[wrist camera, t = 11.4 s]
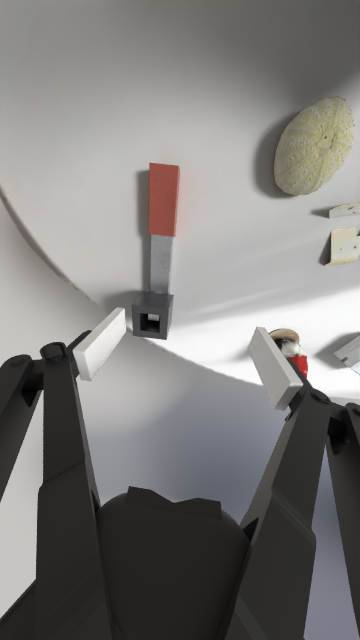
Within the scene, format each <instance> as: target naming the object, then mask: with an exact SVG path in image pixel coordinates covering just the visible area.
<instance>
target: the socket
mask: <svg viewBox="0 0 360 640" xmlns="http://www.w3.org/2000/svg"><path fill="white" fill-rule="evenodd" d="M172 306H173V295H170V294H162V293H154V292H145V291H143V292H142V294H141V295H140V296H139V297H138V298H137V299H136V300H135V302H134V303H133V304H132V321H133V336H140V337H147V338H155V339H163V340H167V336H168V332H169V328H170V324H171V317H172ZM148 314H153V315H160V319H159V321H156V320H148Z"/></svg>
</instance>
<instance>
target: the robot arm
mask: <svg viewBox="0 0 360 640" xmlns="http://www.w3.org/2000/svg"><path fill="white" fill-rule="evenodd" d="M125 332H126V324H125V309H124V308H119V307H117V308H116V309H115V310H114V311H113V312H112V313H110V314H109V315H108V316H107V317H106V318H105V319H104V320H103V321H102V322H101V323H100V324H99V325H98V326H97V327H96V328H95V329H94V330H93V331H91V330H88V331H86V332H84V333H82V334H81V335H80V336H79V337H78V338H76V339H75V341H73V342H72V343H71V344H70V345H69V346H68V347H66V345H65V344H64V343H62V342H53V343H50V344H47V345H45V346H44V347H42V348H41V350H40V354H41V356H42V359H40V360H32V358H31V357H30V356H29V355H18V356H15V357H12V358H10V359H8V360H7V361H5V362H4V363H3V365H2V366H1V368H0V502H1V499H2V496H3V494H4V491H5V488H6V486H7V483H8V480H9V478H10V474H11V472H12V470H13V467H14V464H15V461H16V459H17V456H18V453H19V451H20V448H21V445H22V443H23V440H24V437H25V435H26V432H27V429H28V426H29V424H30V421H31V419H32V416H33V413H34V410H35V408H36V405H37V402H38V400H39V397H40V394H41V392H42V390H44V419H43V428H44V429H43V433H44V434H43V448H44V449H43V484H42V486H41V487H40V488H39V492H38V510H37V554H36V579H35V580H34V582H33V583H32V584H31V585H30V586H29V587H28V588H27V589H26V590H25V592H24V593H23V594H22V595H21V596H20V597H19V598H18V599H17V601H16V602H15V603H14V604H13V605H12V606H11V607H10V608H9V609H8V611H7V612H6V613H5V614H4V615H3V616H2V617H1V619H0V640H305V639H304V638H303V635H304V629H305V622H306V615H307V608H308V601H309V594H310V587H311V580H312V573H313V566H314V559H315V551H316V537H315V534H314V533H313V531H312V528H311V525H312V518H313V512H314V506H315V500H316V495H317V489H318V483H319V477H320V471H321V465H322V459H323V454H324V448H325V444H326V449H327V456H328V462H329V467H330V473H331V479H332V485H333V491H334V497H335V502H336V508H337V515H338V520H339V526H340V532H341V538H342V544H343V550H344V555H345V562H346V567H347V573H348V579H349V585H350V591H351V597H352V603H353V608H354V613H355V618H356V623H357V628H358V632H359V637H360V405H357V404H355V403H347V404H346V405H345V406H341V405H338V404H336V403H333V402H331V401H330V399H329V398H328V397H327V396H326V395H325V394H324V393H322V392H321V391H319V390H317V389H314V388H313V387H312V386H311V384H310V383H309V382H308V380H307V379H306V378H305V376H304V375H303V374H302V372H301V371H300V370H299V368H298V367H297V365H296V364H295V363H294V362H293V361H292V360H290V359H288V358H285V357H284V355H283V354H282V352H281V351H280V349H279V348H278V347H277V345H276V344H275V342H274V341H273V339H272V338H271V336H270V335H269V334H268V332H267V331H266V329H265V328H263V327H256V330H255V332H254V335H253V337H252V340H251V342H250V345H249V347H248V350H249V353H250V355H251V357H252V360H253V362H254V364H255V367H256V369H257V371H258V374H259V376H260V378H261V381H262V383H263V385H264V388H265V390H266V392H267V395H268V397H269V400H270V402H271V404H272V407H273V409H277V410H283V411H284V410H285V409H286V408H287V407H288V405H289V407H290V409H291V412H290V413H289V414H288V416H287V417H286V419H285V421H286V422H285V424H284V427H283V429H282V432H281V434H280V436H279V439H278V441H277V443H276V446H275V448H274V450H273V453H272V455H271V458H270V460H269V462H268V465H267V467H266V469H265V472H264V474H263V476H262V479H261V481H260V484H259V486H258V488H257V491H256V493H255V495H254V498H253V500H252V503H251V505H250V507H249V509H248V511H247V513H246V514H245V516H244V518H243V519H242V521H241V523H240V526H239V525H238V524H237V522H236V521H235V520H234V519H233V518H232V517H231V516H230V515H229V514H227V513H226V512H225V511H223V510H222V509H221V504H220V502H219V501H213V500H207V499H201V498H195V499H190V500H186V501H181V502H177V503H173V502H171V501H169V500H167V499H166V498H164V497H162V496H161V495H159V494H157V493H155V492H154V491H152V490H149V489H143V488H137V487H131V486H129V489H128V492H127V493H123V494H121V495H118V496H116V497H114V498H112V499H111V500H109V501H108V502H106V503H105V504H104V505H103V506H102V507H101V505H100V499H99V496H98V491H97V487H96V483H95V478H94V472H93V467H92V462H91V456H90V451H89V446H88V440H87V435H86V430H85V425H84V419H83V414H82V409H81V403H80V398H79V393H78V387H77V382H76V377H77V376H78V375H80V378H81V380H87V381H92V379H93V378H94V376H95V375H96V373H97V372H98V370H99V369H100V368H101V366H102V365H103V363H104V362H105V360H106V359H107V358H108V356H109V355H110V353H111V352H112V351H113V349H114V348H115V346H116V345H117V343H118V342H119V340H120V339H121V338H122V336H123V335H124V333H125Z"/></svg>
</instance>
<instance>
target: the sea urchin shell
mask: <svg viewBox="0 0 360 640" xmlns="http://www.w3.org/2000/svg"><path fill="white" fill-rule="evenodd" d="M354 126H355V125H354V123H353V118H352V113H351V109H350V107H349V106H348V104H347V102H346V100H345V99H342V98H339V97H331V98H327V99H321V100H319V101H317V102H316V103H314V104H313V105H311V106H309V107H307V108H306V109H303V110H302V111H301V112H300V113H299V114H298V115H297V116H296V117H295V118H294V119H293V120H292V121H291V122H290V123H289V124H288V125H287V127H286V128H285V130H284V132H283V133H282V135H281V138H280V141H279V144H278V146H277V149H276V154H275V163H274V174H275V175H274V178H275V181H276V184H277V186H278V187H279V188H281V189H282V190H283V191H284V192H286V193H289V194H293V195H306V194H307V195H308V194H310V193H312V192H314V191H317V190H318V188H320V187H321V186H322V185H323V184H324V183H326V182H327V181H328V180H329V179H330V178H331V177H332V175H333V174H334V173H335V172H336V171H337V170H338V169H339V167H340V166H341V165H342V164H343V161H344V159H345V158H346V156H347V154H348V153H349V151H350V149H351V146H352V143H353V141H354Z"/></svg>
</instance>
